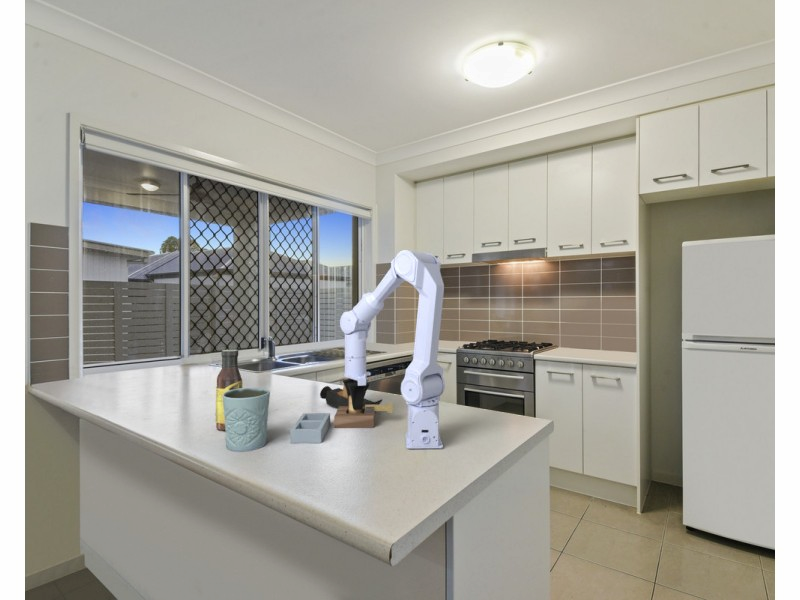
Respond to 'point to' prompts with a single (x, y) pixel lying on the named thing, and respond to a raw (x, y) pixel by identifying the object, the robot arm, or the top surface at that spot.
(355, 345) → the robot arm
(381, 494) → the top surface
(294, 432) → the divided storage tray
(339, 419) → the socket block
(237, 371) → the sauce bottle
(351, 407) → the dowel peg
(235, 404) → the teal embossed cup
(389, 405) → the drift key
